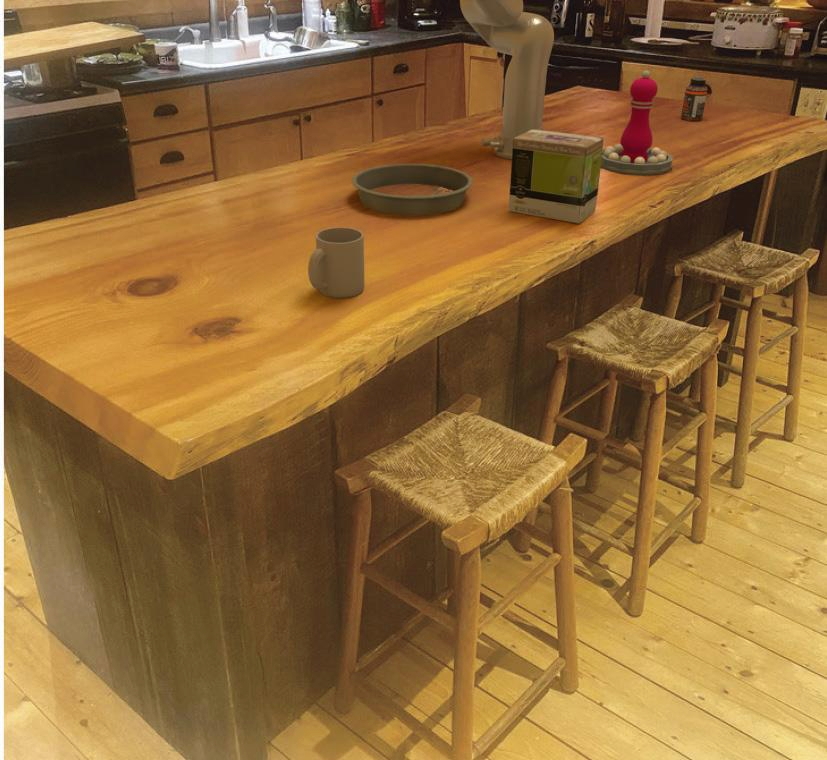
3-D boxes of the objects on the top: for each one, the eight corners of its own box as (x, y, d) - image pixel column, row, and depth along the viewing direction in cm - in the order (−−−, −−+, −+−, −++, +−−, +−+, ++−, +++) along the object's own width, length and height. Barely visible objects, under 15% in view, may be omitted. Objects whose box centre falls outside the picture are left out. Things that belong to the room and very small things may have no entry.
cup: (374, 289, 131) (373, 234, 126) (327, 308, 124) (324, 252, 120) (342, 276, 135) (340, 224, 131) (295, 295, 128) (291, 240, 124)
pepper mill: (647, 156, 198) (660, 68, 188) (651, 164, 192) (665, 73, 182) (616, 155, 199) (628, 67, 189) (619, 163, 193) (632, 72, 183)
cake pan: (482, 188, 179) (483, 168, 177) (456, 224, 159) (457, 201, 156) (373, 178, 185) (373, 158, 183) (335, 212, 164) (334, 190, 162)
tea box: (596, 211, 166) (605, 136, 158) (578, 225, 158) (587, 147, 151) (527, 199, 172) (533, 126, 165) (506, 212, 165) (511, 136, 157)
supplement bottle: (676, 117, 242) (683, 76, 236) (694, 116, 243) (701, 76, 238) (688, 122, 237) (695, 80, 231) (706, 121, 238) (713, 79, 233)
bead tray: (614, 177, 187) (616, 161, 185) (586, 157, 202) (587, 142, 200) (683, 173, 190) (686, 157, 188) (651, 154, 205) (653, 139, 203)
